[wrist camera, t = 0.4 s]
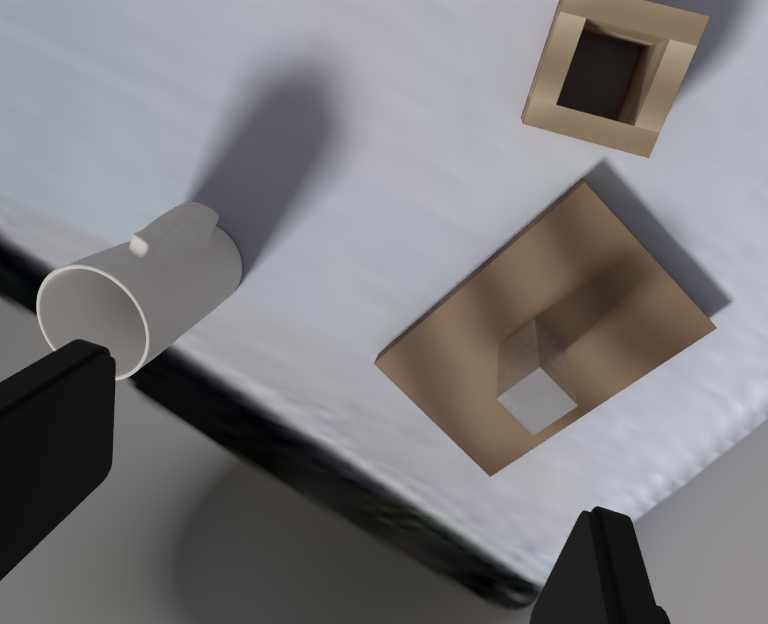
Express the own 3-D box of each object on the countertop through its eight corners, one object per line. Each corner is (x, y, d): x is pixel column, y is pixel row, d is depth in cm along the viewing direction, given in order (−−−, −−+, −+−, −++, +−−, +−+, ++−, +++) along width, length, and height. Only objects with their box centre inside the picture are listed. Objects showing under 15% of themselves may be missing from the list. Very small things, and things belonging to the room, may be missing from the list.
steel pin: (534, 317, 36) (539, 367, 29) (565, 349, 36) (578, 405, 30) (498, 344, 37) (496, 398, 30) (529, 376, 37) (533, 435, 31)
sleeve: (559, 1, 30) (570, -19, 25) (673, 29, 30) (710, 16, 24) (520, 117, 33) (523, 123, 27) (625, 146, 32) (648, 158, 27)
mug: (222, 321, 42) (123, 403, 31) (148, 270, 42) (21, 334, 31) (283, 214, 38) (193, 265, 27) (201, 157, 38) (77, 185, 27)
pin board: (581, 178, 33) (584, 182, 32) (708, 318, 35) (716, 327, 33) (378, 354, 41) (373, 363, 39) (490, 464, 42) (490, 476, 41)
